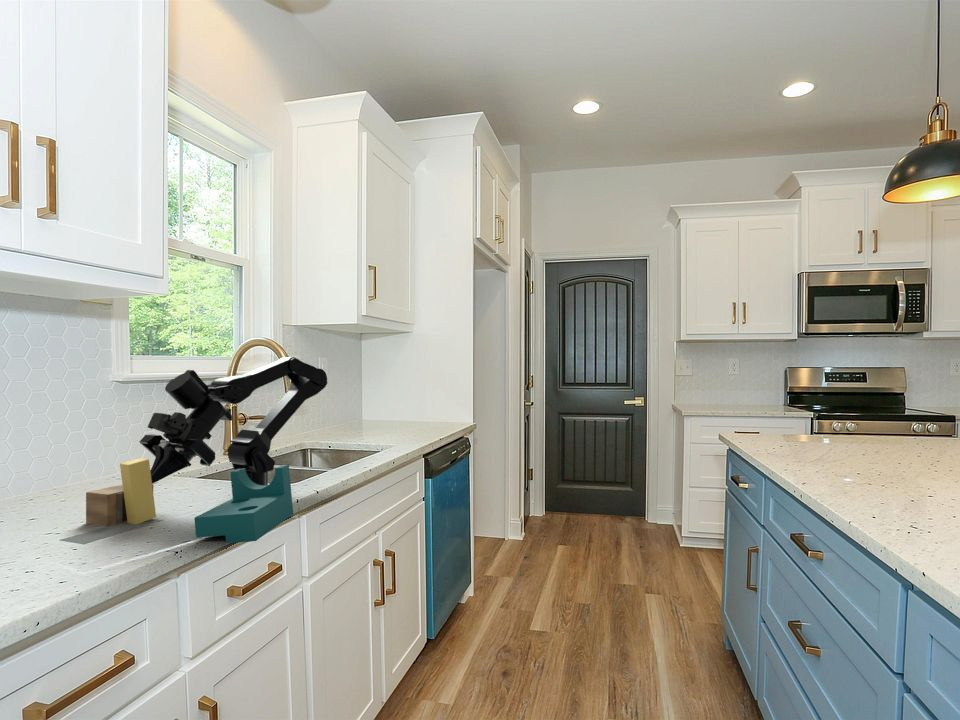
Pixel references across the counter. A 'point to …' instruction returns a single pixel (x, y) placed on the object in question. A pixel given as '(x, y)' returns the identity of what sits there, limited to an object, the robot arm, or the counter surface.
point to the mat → (107, 531)
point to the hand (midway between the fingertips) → (148, 482)
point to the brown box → (106, 506)
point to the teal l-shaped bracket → (249, 508)
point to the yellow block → (138, 490)
